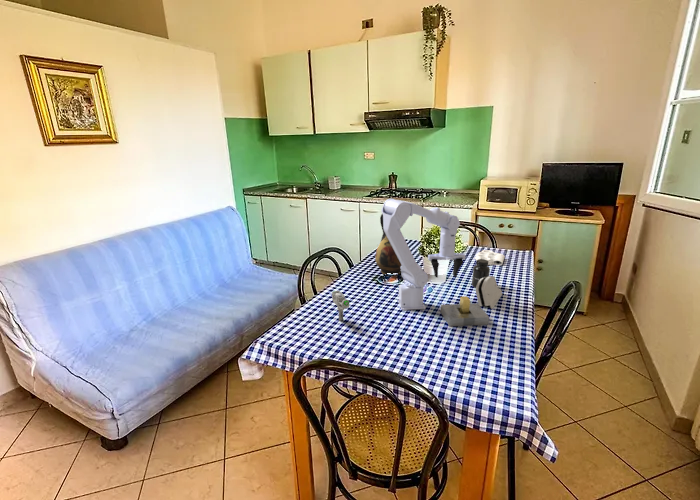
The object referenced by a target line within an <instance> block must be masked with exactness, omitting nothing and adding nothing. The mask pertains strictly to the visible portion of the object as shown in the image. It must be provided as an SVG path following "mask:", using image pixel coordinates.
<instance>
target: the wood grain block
mask: <svg viewBox="0 0 700 500" xmlns="http://www.w3.org/2000/svg"><path fill="white" fill-rule="evenodd" d="M459 299H460V300H459V304H460V310H459V312H460V313H461V314H469V308H470V304H471V299H470V298H469V297H468V295H466V296H463V295H462V296H460V297H459Z"/></svg>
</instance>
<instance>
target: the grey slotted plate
mask: <svg viewBox="0 0 700 500" xmlns="http://www.w3.org/2000/svg"><path fill="white" fill-rule="evenodd" d="M459 310H460V303H454V304H450V303H449V304H448V303H447V304H440V314H441V315H442V317H443V318H444V320H445V322H446V324H448V327H466V326H489V321H490V316H489V315H488V314H487V312H486V311H484V309H483V308H482V306H479V304H478V302H477V303H470V308H469V314H461V313H460V312H459Z"/></svg>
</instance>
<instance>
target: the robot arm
mask: <svg viewBox="0 0 700 500" xmlns="http://www.w3.org/2000/svg"><path fill="white" fill-rule="evenodd" d="M380 212H381V215H382V214H383V229H384V232H385V234H386V236H387V238H388V240H389V241H390V243H391V245H392V247H393V249H394V251H395V253H396V255H397V257H398V259H399V261H400V263H401V265H402V266H401V267H400V269H401V271H400V272H401V277H402V278H403V280H404V282H403V283H402V284H399V286H398V301H397V302H398V304H399V307H400V309H401V310H402V311H403V310H404V311H405V310H408V311H409V310H425V309H426V305H425V304H424V289H425V288H424V287H425V286H426V285H427V283H428V282H429V281H428V280H429V275H428V273H427V272H426V271H424V270H423V268H422V267H421V265H420V264H418V263H417V262H416V260H415V257H414V255H413V253H412V251H411V249H410V247H409V246H408V243H407V242H406V238H405V237H404V235H403V233H402V231H401V228H402V227H403V226H404V225H405V223H406V222H407V220H408V219H409V217H412V216H413V215H417V216H420V217H423V218H425V220H426V222H427V223H430V224H432V225H435V226H438V227H439V228H440V239H439V240H440V241H439V252H438V253H433V254H427V260H428V261H430V263H431V266H432V269H433V275H434V277H435V278H438V277H439V267H440V266H439V265H440V263H439V261H441V260H442V261H443V260H444V261H446V260H447V261H449V260H450V261H451V260H452V261H453V268H452V269H453V270H452V275H453V277H454V278H457V275H458V272H459V270H460V268H461V266H462V265H463V263H464V260H466V254H465V253H461V252H460V253H459V252H455V248H456V236H457V234H458V229H459V227H460V225H461V222H460V220H459V218H458V216H457V215H453V214H450V212H449V211H443V210H441V208H440V207H432V208H430V209H428V208H426V207H423V206H421V205H419V204H417V203H414V202H409V201H405V200H400V199H395V198H391V197H390V198H388V199H386V200H385V201H384V202H383V205H382V207H381V211H380Z"/></svg>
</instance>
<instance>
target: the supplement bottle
mask: <svg viewBox="0 0 700 500" xmlns="http://www.w3.org/2000/svg"><path fill="white" fill-rule="evenodd" d="M475 264H476V265H474V266H473V270H472V271H473V272H472V279H471V286H472V287H474V288H475V289H476V286H477V283H478V282H479V280H480V279H481V278H484V277H489V276H490V275H491V274H490V273H491V268H490V267H489V265H488V261H487V260H485V259H478V260H477V261H476V263H475Z"/></svg>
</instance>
